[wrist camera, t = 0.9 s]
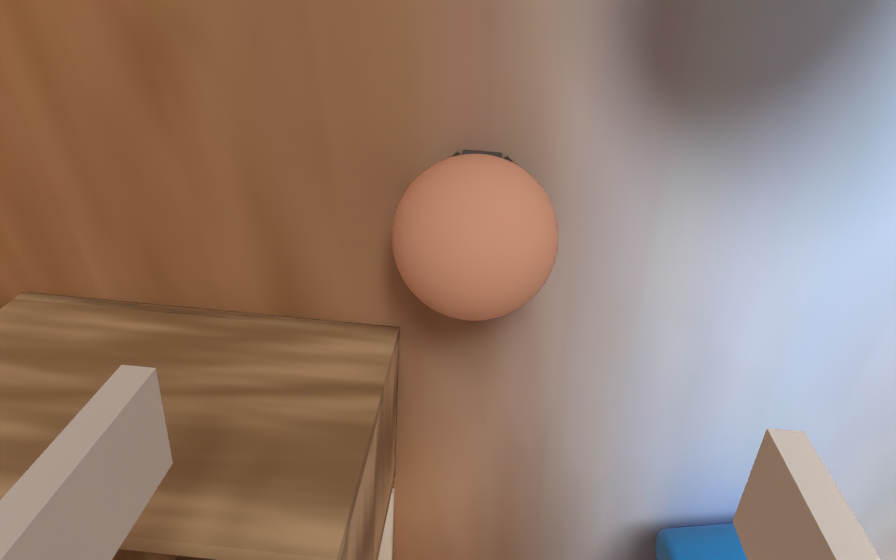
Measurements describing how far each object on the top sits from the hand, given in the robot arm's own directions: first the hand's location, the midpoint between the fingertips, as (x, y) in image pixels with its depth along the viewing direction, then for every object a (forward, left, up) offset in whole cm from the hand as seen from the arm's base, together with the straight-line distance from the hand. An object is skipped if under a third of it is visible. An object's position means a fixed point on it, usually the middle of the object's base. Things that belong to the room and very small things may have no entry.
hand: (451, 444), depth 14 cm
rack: (+11, -12, -14) cm, 22 cm away
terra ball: (0, 0, -11) cm, 11 cm away
